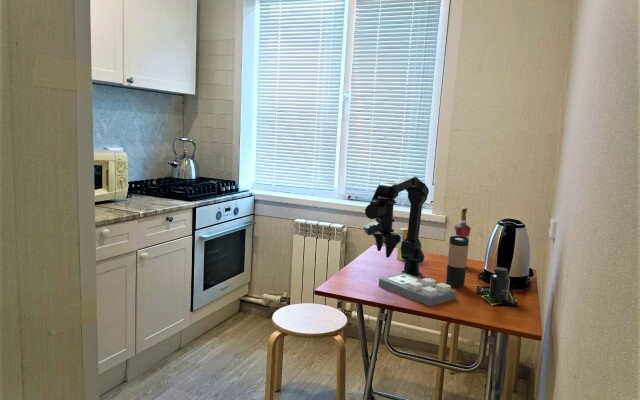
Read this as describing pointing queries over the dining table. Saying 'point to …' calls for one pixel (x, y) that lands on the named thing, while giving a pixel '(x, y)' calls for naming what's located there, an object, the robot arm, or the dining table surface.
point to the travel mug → (457, 261)
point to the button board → (400, 286)
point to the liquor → (462, 226)
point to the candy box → (403, 236)
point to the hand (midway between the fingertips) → (383, 254)
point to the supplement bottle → (499, 284)
